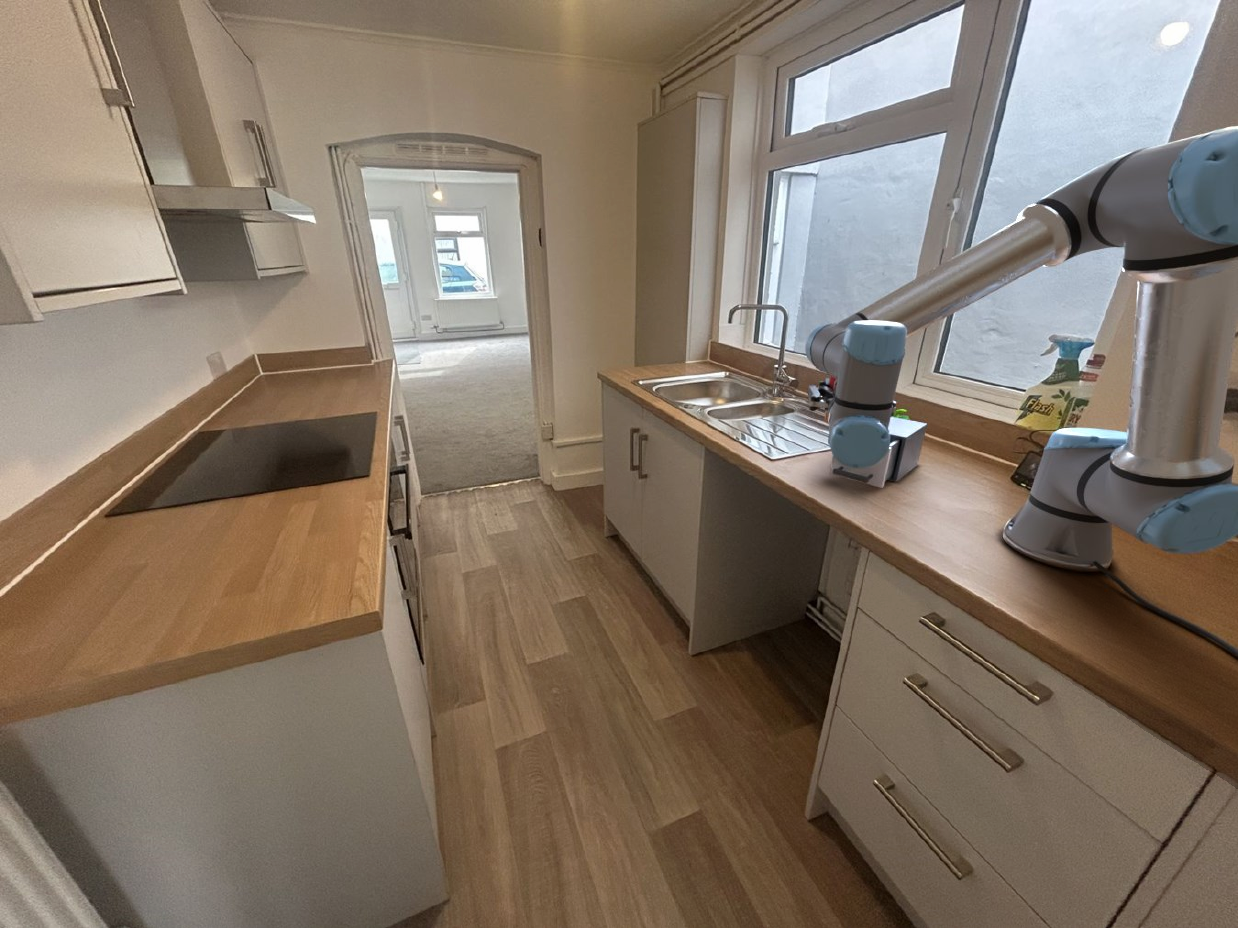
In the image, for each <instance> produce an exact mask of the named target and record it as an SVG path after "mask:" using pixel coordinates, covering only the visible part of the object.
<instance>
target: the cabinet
mask: <svg viewBox="0 0 1238 928" xmlns="http://www.w3.org/2000/svg"><path fill="white" fill-rule="evenodd" d="M927 428H928V423H926V422H920V421H916V420H911V419H909V420H906V419H900V418H895V417H891V418H890V423H889V427H888V430H889V435H890V437H892V438H896V439H901V440H902V443H901V448H900V452H899V457H898V461H897V465H896V470H895V474H894V475H892V476H891V477H890V478H888V479H887V480H886V481H890V482H895V483H897V482H898V481H900V480H901V479H902V478H903V477H905V476H906V475H907V474H908V473H910V472H911V471H912V470H913V469H915V468H917V466H918V464H919V461H920V456H921V451H922V449H923V444H924V439H925V435H926V431H927Z"/></svg>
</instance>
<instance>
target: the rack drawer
mask: <svg viewBox="0 0 1238 928" xmlns="http://www.w3.org/2000/svg"><path fill="white" fill-rule="evenodd" d="M901 443H902V440H901V439H896V438H892V437H890V447H889V450H888V452H887V454H886V456H885V457H884V458H883V459H882V460H881V461H880V462H878V463H877V464H875V465H873V466H871V467H867V468H851V467H848V466H845V465H843V464H842V463H840V462H839V461H838V460H837V459H836V458H835V457H834V455H833V454H832V458H831V464H830V471H829V474H831V475H836V476H838V477H843V478H846V479H850V480H853V481H856V482H860V483H862V484H866V485H871V486H873V487H877V488H881V489H882V488H884V487H885V483H886V481H888V480H887V479H888V478H890V477H891V476H892V475H894V474H895V470H896V465H897V461H898V457H899V452H900V448H901Z"/></svg>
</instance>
